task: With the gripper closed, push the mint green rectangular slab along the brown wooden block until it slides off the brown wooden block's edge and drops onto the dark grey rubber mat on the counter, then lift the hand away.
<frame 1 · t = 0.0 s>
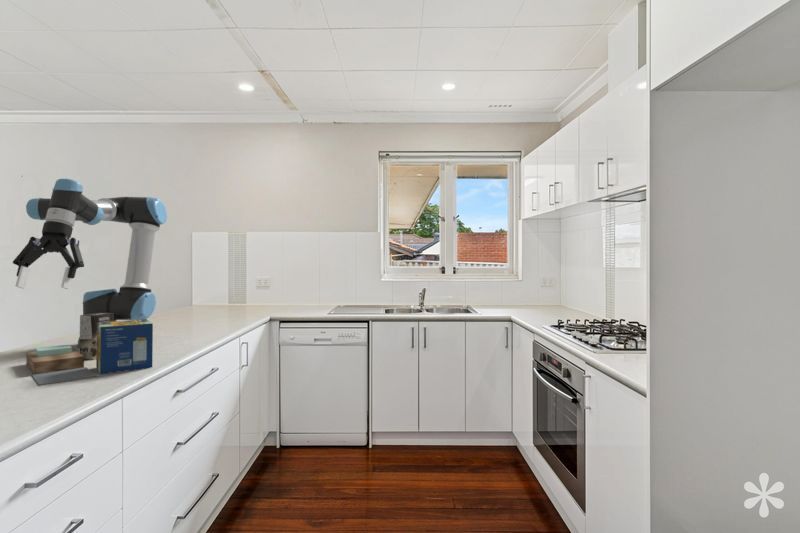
hand: (42, 287, 135), 28 cm above the worktop, tool tilted 20°, fingers open, 13 cm apart
mat: (64, 376, 138), on the worktop
mint green rectangular slab: (53, 353, 150), point 4 cm above the worktop, touching brown wooden block
coffee box: (96, 357, 164), on the worktop
brown wooden block: (54, 366, 149), on the worktop
protein box: (124, 368, 149), on the worktop
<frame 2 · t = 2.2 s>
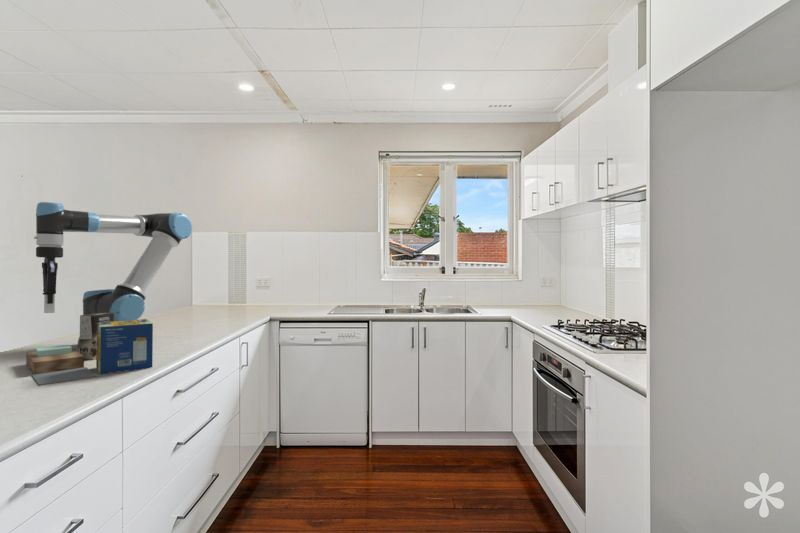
hand: (49, 312, 155), 17 cm above the worktop, tool pointing down, fingers closed
nothing on the worktop moved.
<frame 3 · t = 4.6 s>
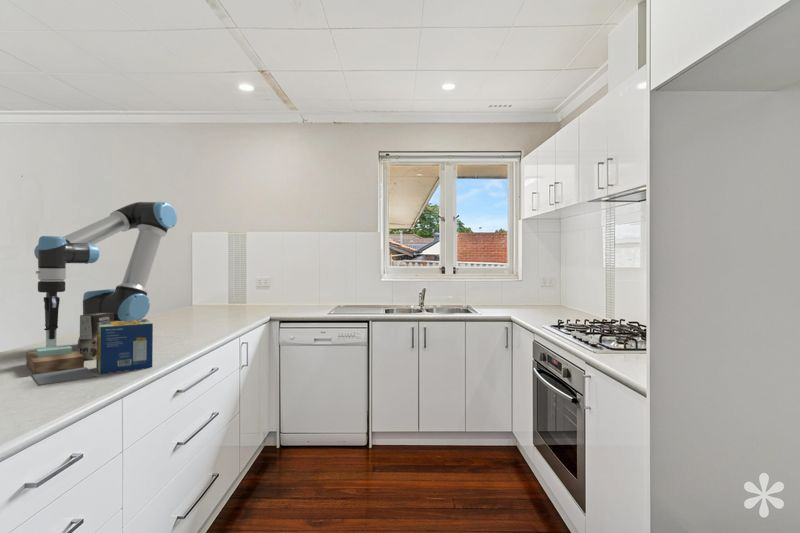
hand: (51, 348, 152), 5 cm above the worktop, tool pointing down, fingers closed
mint green rectangular slab: (54, 353, 150), point 4 cm above the worktop, touching gripper
everything else where it was.
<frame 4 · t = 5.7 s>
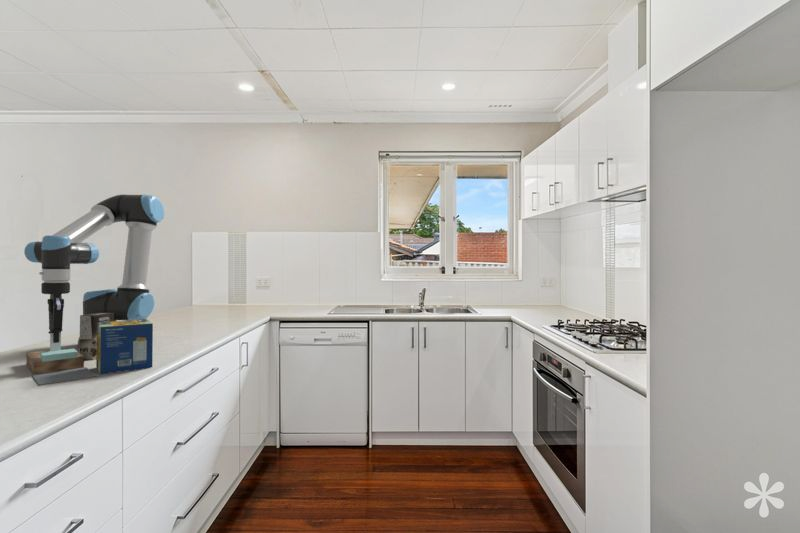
hand: (55, 351, 146), 5 cm above the worktop, tool pointing down, fingers closed
mint green rectangular slab: (59, 357, 144), point 4 cm above the worktop
everything else where it was.
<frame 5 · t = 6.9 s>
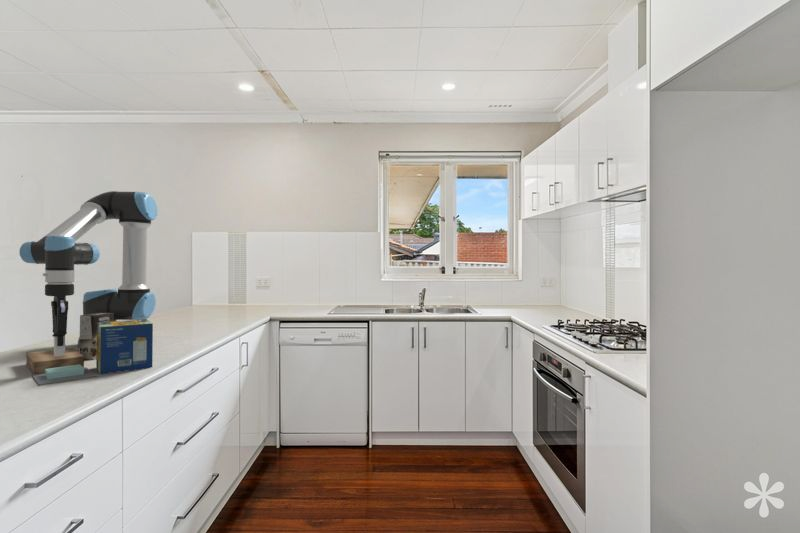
hand: (59, 355, 142), 5 cm above the worktop, tool pointing down, fingers closed
mint green rectangular slab: (64, 368, 138), point 2 cm above the worktop, tilted 180°, touching mat
everything else where it was.
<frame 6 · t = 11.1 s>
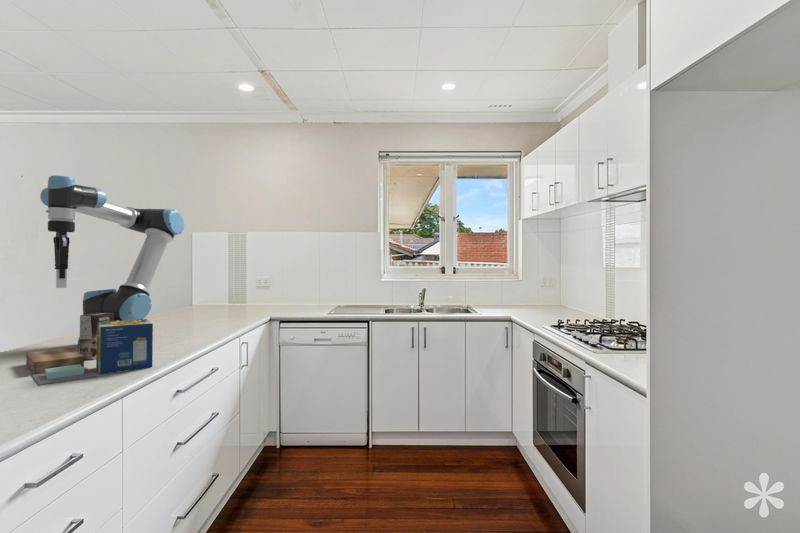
hand: (61, 287, 154), 26 cm above the worktop, tool pointing down, fingers closed
nothing on the worktop moved.
at the end: mint green rectangular slab point 2.3 cm above the worktop; mint green rectangular slab inside the target area on the mat (0.6 cm from its centre), point 2.3 cm above the mat's base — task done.
